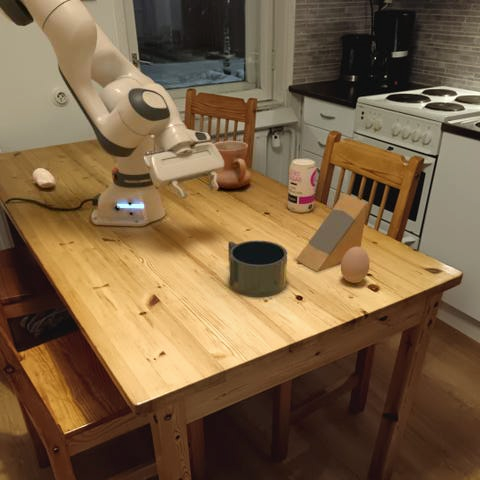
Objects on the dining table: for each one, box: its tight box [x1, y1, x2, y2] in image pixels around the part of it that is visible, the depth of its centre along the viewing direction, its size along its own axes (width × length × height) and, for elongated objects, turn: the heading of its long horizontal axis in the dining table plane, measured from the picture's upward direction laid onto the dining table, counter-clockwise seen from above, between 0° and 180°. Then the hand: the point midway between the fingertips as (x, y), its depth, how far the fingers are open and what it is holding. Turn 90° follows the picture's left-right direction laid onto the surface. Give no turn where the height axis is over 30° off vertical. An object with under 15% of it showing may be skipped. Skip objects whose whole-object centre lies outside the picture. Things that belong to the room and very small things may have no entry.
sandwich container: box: [295, 192, 368, 272], centre depth 128 cm, size 9×15×15 cm, turn 124°
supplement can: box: [287, 158, 318, 214], centre depth 157 cm, size 8×8×15 cm
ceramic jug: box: [213, 140, 252, 190], centre depth 175 cm, size 18×14×14 cm
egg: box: [340, 246, 370, 284], centre depth 119 cm, size 7×7×9 cm
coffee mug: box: [228, 240, 288, 298], centre depth 120 cm, size 18×13×8 cm
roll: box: [32, 167, 56, 189], centre depth 176 cm, size 6×12×6 cm, turn 32°
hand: (200, 193), depth 126 cm, fingers open, 8 cm apart
